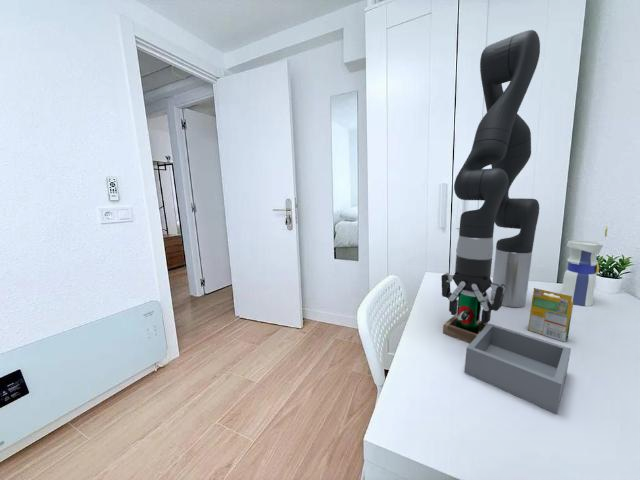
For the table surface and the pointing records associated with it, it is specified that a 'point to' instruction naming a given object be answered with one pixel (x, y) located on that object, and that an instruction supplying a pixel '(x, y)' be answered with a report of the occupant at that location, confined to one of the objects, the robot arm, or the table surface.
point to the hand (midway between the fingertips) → (468, 318)
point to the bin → (519, 365)
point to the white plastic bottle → (581, 271)
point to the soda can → (468, 311)
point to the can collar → (460, 330)
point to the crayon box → (550, 314)
